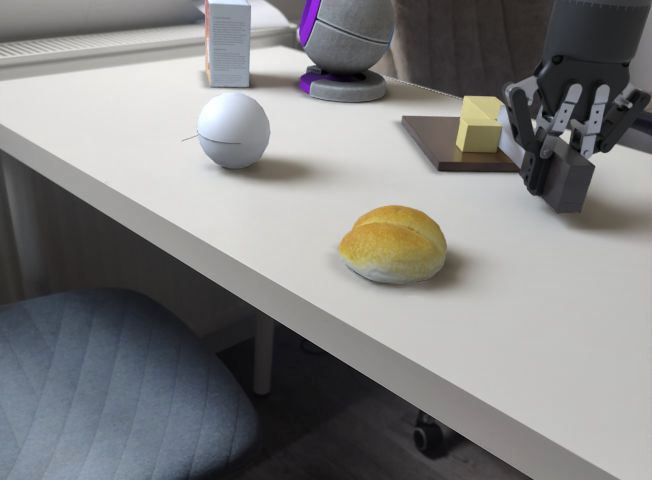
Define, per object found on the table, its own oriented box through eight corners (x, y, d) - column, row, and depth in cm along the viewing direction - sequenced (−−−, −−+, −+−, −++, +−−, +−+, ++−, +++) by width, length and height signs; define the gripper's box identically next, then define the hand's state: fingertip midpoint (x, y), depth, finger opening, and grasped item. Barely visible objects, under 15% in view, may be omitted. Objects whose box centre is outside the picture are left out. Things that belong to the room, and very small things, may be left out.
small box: (205, 71, 101) (204, -9, 95) (243, 72, 102) (244, -7, 96) (208, 87, 95) (207, 2, 89) (249, 87, 96) (251, 4, 90)
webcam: (293, 74, 103) (300, -41, 95) (378, 79, 104) (392, -34, 96) (298, 99, 93) (305, -27, 84) (392, 104, 94) (409, -20, 85)
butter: (489, 121, 87) (495, 96, 85) (517, 145, 80) (523, 119, 78) (459, 120, 87) (464, 95, 85) (484, 145, 79) (489, 118, 78)
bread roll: (326, 273, 54) (330, 227, 52) (361, 230, 61) (367, 187, 59) (428, 299, 52) (438, 252, 50) (453, 251, 59) (463, 207, 57)
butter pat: (489, 145, 79) (494, 119, 78) (496, 152, 77) (502, 126, 76) (455, 144, 79) (460, 118, 77) (462, 152, 77) (467, 125, 75)
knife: (580, 213, 64) (596, 166, 61) (556, 213, 63) (570, 165, 61) (505, 140, 79) (515, 100, 76) (485, 140, 78) (494, 99, 76)
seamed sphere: (246, 149, 76) (247, 80, 72) (282, 173, 71) (286, 99, 67) (161, 163, 71) (157, 89, 67) (193, 189, 66) (191, 111, 62)
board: (506, 125, 89) (508, 117, 89) (559, 172, 76) (562, 163, 76) (400, 123, 87) (402, 115, 87) (437, 170, 74) (439, 161, 74)
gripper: (543, -3, 53) (493, 209, 63) (708, 6, 55) (634, 209, 65) (507, -18, 59) (466, 177, 69) (657, -10, 61) (596, 179, 71)
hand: (548, 192), depth 67 cm, fingers closed on knife, 2 cm apart
